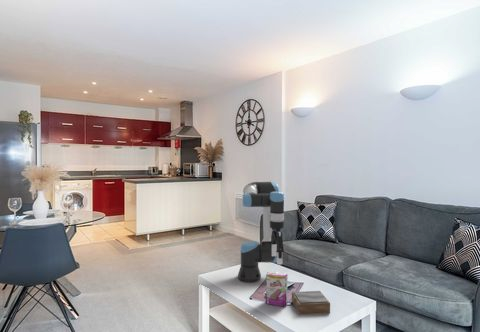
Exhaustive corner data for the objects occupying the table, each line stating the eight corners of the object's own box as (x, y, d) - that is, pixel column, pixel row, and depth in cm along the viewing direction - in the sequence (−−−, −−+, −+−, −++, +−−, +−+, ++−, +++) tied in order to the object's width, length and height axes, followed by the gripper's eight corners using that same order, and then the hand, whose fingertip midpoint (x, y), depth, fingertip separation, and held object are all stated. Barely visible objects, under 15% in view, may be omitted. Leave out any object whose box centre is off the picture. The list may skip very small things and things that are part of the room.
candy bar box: (265, 304, 160) (265, 274, 160) (267, 300, 165) (267, 271, 165) (286, 307, 157) (286, 276, 157) (287, 303, 162) (287, 273, 162)
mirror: (291, 301, 164) (291, 291, 164) (320, 300, 166) (320, 290, 166) (299, 314, 150) (299, 303, 150) (330, 312, 152) (330, 302, 152)
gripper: (265, 216, 173) (265, 253, 173) (275, 225, 148) (274, 268, 148) (278, 216, 173) (278, 252, 174) (289, 225, 148) (289, 267, 149)
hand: (276, 260), depth 161 cm, fingers open, 13 cm apart
